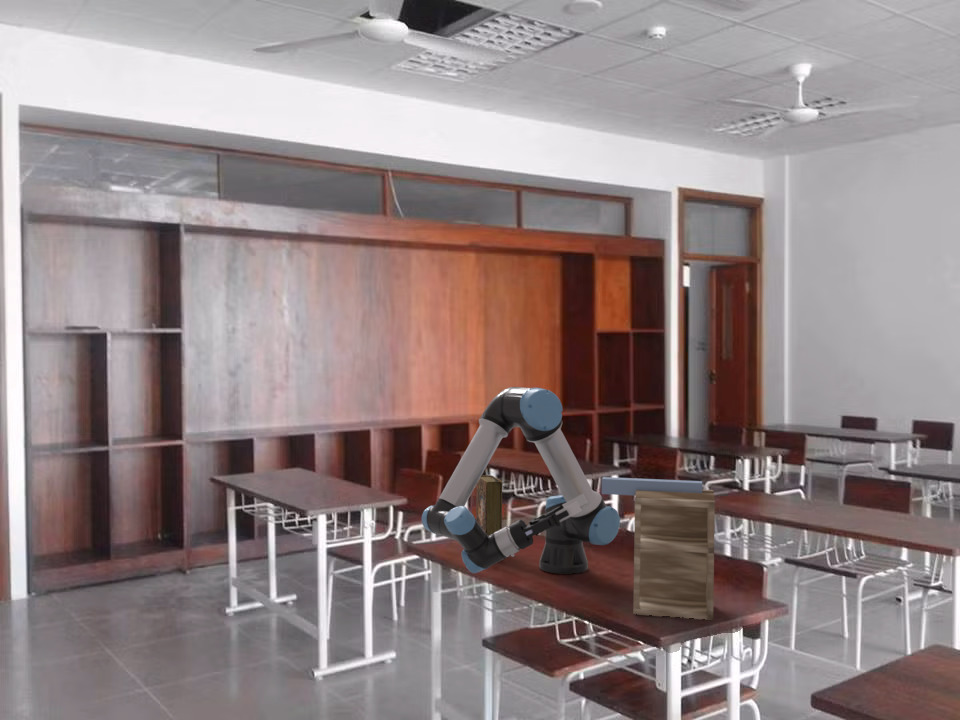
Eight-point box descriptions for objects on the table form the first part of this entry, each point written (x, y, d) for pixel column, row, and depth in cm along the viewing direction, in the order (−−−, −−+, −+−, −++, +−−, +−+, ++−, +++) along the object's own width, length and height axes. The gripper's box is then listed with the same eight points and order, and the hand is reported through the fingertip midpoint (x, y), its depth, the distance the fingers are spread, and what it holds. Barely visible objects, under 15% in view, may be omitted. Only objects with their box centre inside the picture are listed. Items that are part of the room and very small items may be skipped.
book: (475, 547, 311) (475, 475, 311) (490, 546, 312) (491, 475, 312) (485, 557, 295) (486, 481, 295) (501, 557, 296) (502, 481, 296)
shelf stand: (636, 600, 245) (637, 485, 245) (711, 605, 240) (713, 488, 240) (633, 614, 231) (635, 492, 231) (713, 620, 227) (714, 496, 227)
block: (602, 491, 242) (603, 477, 242) (701, 496, 236) (702, 481, 236) (601, 493, 238) (601, 478, 238) (702, 498, 232) (702, 483, 232)
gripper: (529, 541, 257) (593, 507, 253) (512, 559, 233) (583, 522, 228) (516, 517, 258) (580, 483, 253) (498, 534, 233) (569, 496, 229)
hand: (582, 502), depth 241 cm, fingers open, 13 cm apart
